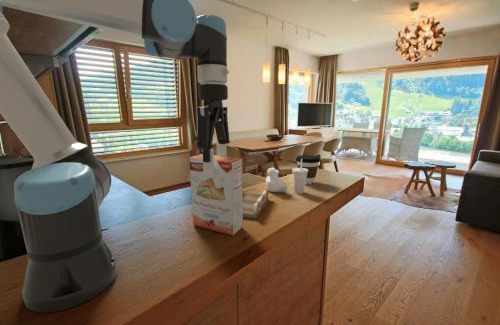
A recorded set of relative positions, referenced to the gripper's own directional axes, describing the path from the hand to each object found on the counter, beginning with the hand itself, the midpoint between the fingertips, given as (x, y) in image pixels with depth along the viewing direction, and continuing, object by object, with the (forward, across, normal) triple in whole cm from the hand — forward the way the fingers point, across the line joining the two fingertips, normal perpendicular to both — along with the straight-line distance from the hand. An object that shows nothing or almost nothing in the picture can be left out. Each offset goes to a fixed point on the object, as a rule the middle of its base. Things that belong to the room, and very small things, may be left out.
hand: (215, 169), depth 70 cm
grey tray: (+17, +17, -4) cm, 25 cm away
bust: (+18, +36, -10) cm, 41 cm away
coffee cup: (+18, +52, -22) cm, 59 cm away
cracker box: (+18, 0, 0) cm, 18 cm away
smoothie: (+18, +37, -20) cm, 46 cm away
